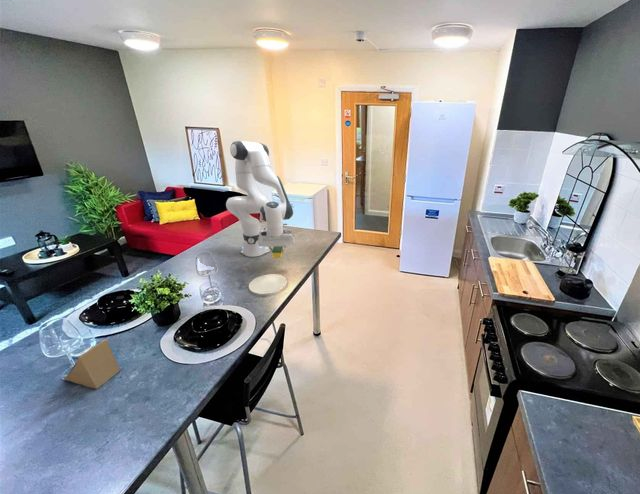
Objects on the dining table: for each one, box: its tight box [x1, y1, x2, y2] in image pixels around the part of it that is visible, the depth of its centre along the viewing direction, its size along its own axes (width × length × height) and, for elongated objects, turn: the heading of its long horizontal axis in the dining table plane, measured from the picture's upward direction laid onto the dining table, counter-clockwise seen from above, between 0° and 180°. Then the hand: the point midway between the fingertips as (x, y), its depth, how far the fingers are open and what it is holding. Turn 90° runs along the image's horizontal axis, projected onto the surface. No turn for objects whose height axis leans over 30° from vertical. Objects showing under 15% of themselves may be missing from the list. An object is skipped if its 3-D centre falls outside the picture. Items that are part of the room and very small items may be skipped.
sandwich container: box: [64, 338, 121, 390], centre depth 101 cm, size 9×15×15 cm, turn 76°
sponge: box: [271, 246, 284, 259], centre depth 169 cm, size 8×5×4 cm, turn 7°
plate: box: [248, 273, 288, 295], centre depth 159 cm, size 20×20×2 cm
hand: (278, 252), depth 170 cm, fingers closed on sponge, 5 cm apart
